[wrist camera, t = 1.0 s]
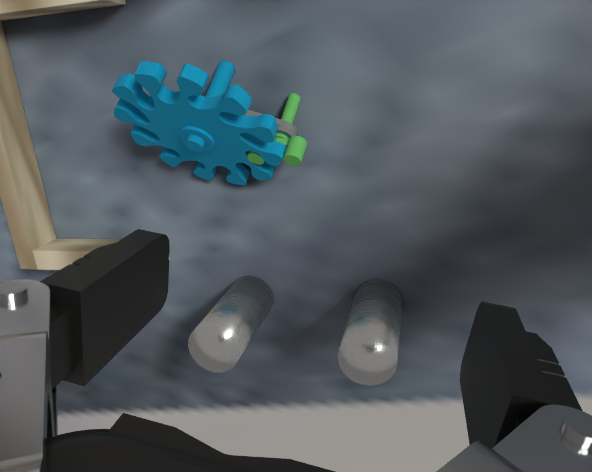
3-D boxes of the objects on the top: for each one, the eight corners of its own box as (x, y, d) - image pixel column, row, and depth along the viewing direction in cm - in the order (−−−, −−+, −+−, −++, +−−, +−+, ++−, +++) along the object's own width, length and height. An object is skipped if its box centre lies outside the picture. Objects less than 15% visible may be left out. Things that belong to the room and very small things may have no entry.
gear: (127, 165, 32) (81, 58, 23) (160, 95, 34) (131, -28, 25) (288, 212, 32) (309, 126, 23) (311, 139, 34) (338, 33, 25)
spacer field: (399, -165, 24) (390, -246, 17) (402, 323, 33) (397, 387, 26) (40, -94, 29) (-67, -137, 23) (126, 309, 38) (66, 360, 32)
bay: (121, -23, 29) (96, -30, 27) (170, 259, 35) (153, 273, 33) (-24, -2, 32) (-58, -7, 30) (44, 256, 38) (20, 269, 36)
